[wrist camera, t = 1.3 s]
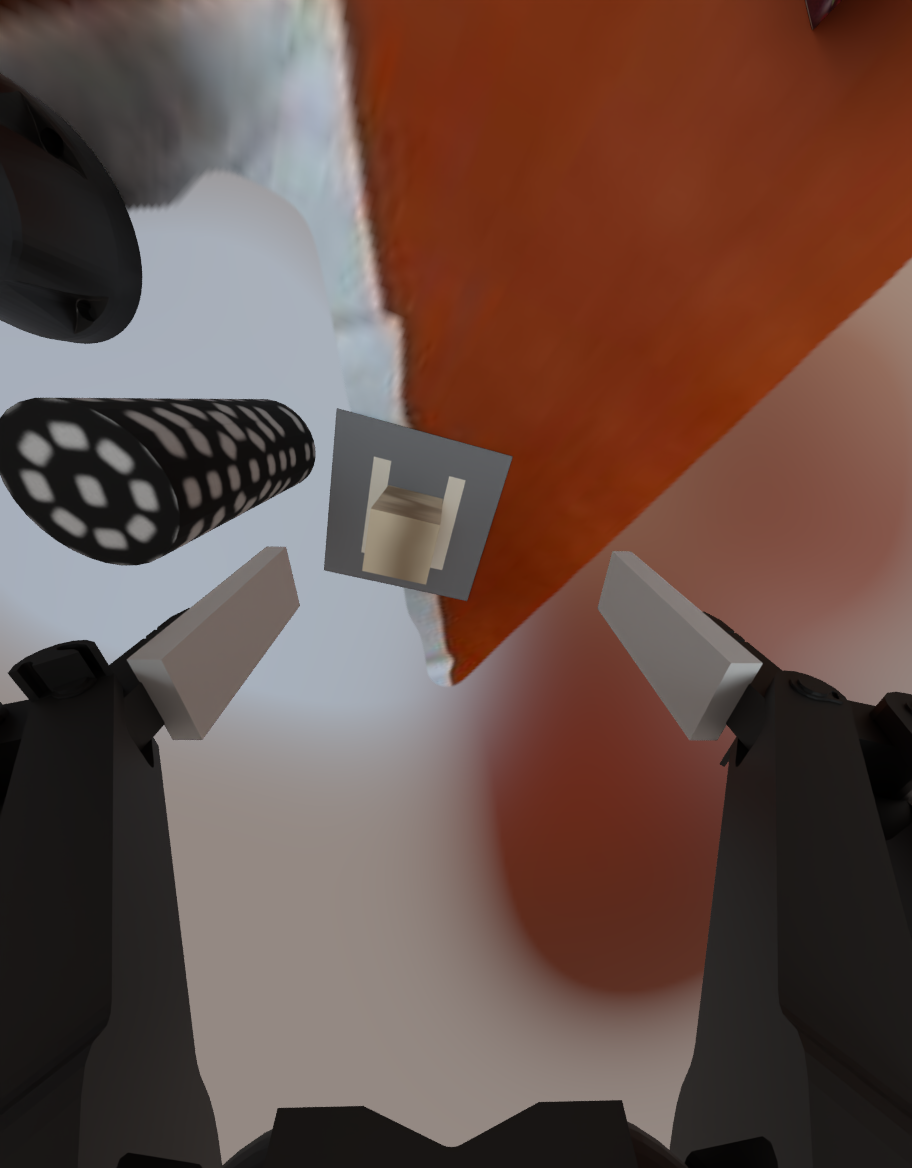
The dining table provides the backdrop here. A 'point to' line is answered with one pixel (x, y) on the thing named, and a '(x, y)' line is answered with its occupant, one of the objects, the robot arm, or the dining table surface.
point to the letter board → (421, 465)
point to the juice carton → (819, 10)
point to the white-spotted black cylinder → (147, 468)
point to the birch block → (402, 534)
